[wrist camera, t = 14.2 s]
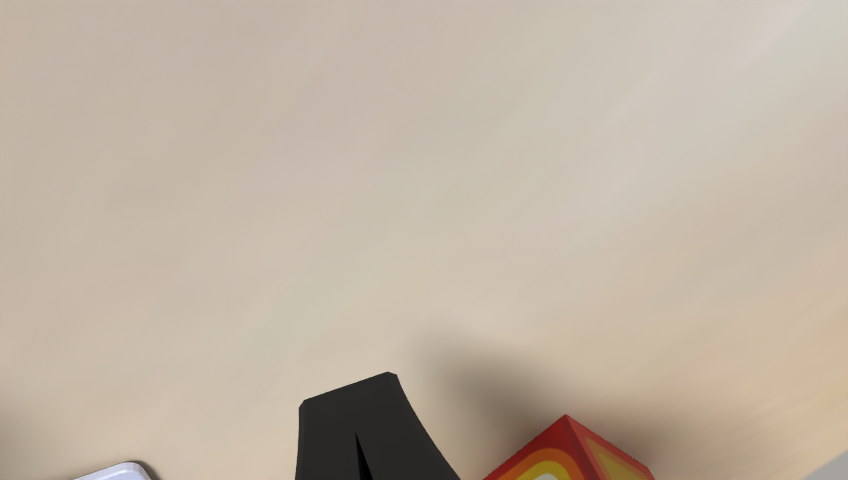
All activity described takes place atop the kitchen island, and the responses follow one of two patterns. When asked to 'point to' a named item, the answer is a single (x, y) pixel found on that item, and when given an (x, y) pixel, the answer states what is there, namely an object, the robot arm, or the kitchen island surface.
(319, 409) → the robot arm
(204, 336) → the kitchen island surface
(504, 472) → the baking soda box
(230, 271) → the kitchen island surface
